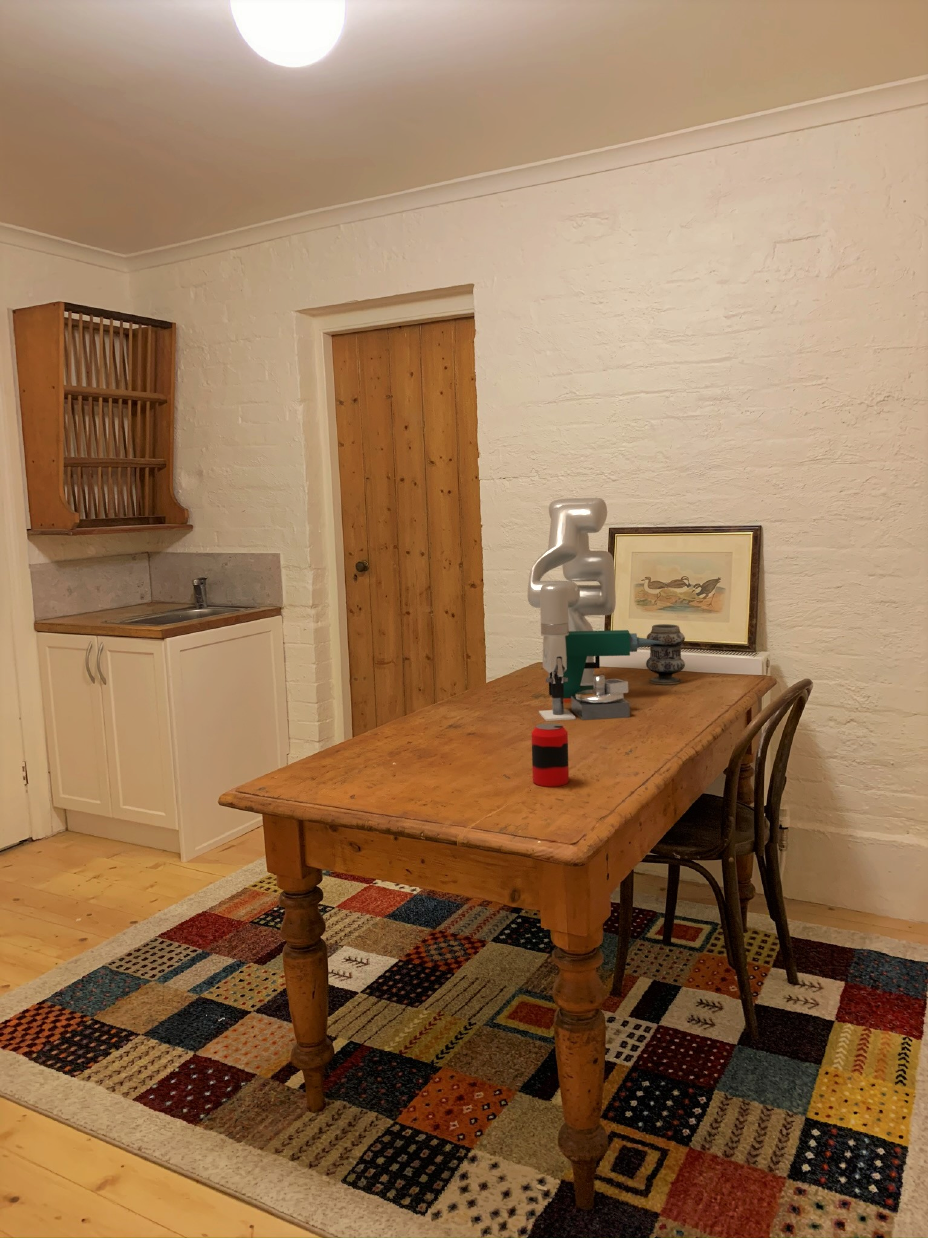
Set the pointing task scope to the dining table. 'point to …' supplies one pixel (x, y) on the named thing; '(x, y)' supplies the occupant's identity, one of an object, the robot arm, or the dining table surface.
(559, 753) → the soda can
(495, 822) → the dining table surface
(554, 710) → the chuck key
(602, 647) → the power tool
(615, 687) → the collar
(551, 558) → the robot arm
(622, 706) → the stand
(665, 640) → the apothecary jar
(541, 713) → the key mat
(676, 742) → the dining table surface
